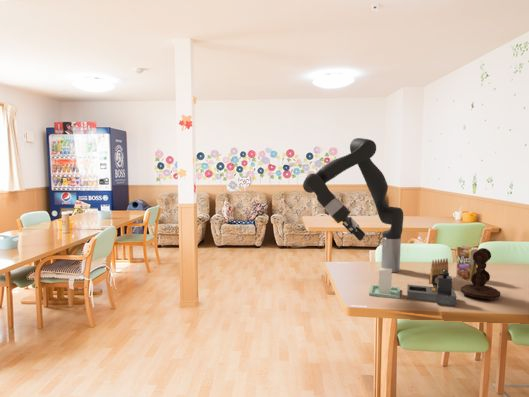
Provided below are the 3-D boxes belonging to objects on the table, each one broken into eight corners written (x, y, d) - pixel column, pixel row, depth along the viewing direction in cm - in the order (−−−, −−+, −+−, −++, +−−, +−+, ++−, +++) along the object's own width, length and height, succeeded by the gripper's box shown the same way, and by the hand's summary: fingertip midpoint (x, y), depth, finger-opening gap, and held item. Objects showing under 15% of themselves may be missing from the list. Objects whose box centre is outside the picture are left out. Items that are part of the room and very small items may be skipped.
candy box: (455, 276, 197) (456, 246, 196) (462, 276, 199) (463, 245, 197) (469, 281, 189) (470, 250, 188) (476, 281, 190) (478, 249, 189)
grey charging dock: (407, 293, 172) (408, 263, 170) (453, 298, 166) (454, 267, 165) (407, 301, 162) (408, 269, 161) (456, 306, 156) (457, 273, 155)
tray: (371, 289, 177) (371, 284, 177) (399, 292, 174) (399, 287, 173) (369, 297, 166) (369, 293, 166) (399, 301, 162) (399, 296, 162)
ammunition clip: (432, 286, 182) (433, 260, 181) (428, 285, 184) (429, 259, 182) (448, 283, 186) (450, 258, 185) (445, 282, 188) (446, 257, 187)
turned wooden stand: (465, 288, 179) (467, 244, 177) (503, 295, 170) (505, 249, 168) (456, 296, 168) (458, 250, 166) (496, 304, 158) (499, 255, 157)
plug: (378, 290, 172) (379, 267, 172) (391, 291, 171) (391, 268, 170) (378, 293, 169) (379, 270, 168) (390, 294, 167) (391, 271, 166)
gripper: (341, 206, 169) (368, 234, 166) (345, 203, 182) (370, 229, 180) (328, 217, 171) (354, 246, 168) (333, 214, 184) (358, 240, 182)
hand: (362, 237), depth 174 cm, fingers open, 8 cm apart
